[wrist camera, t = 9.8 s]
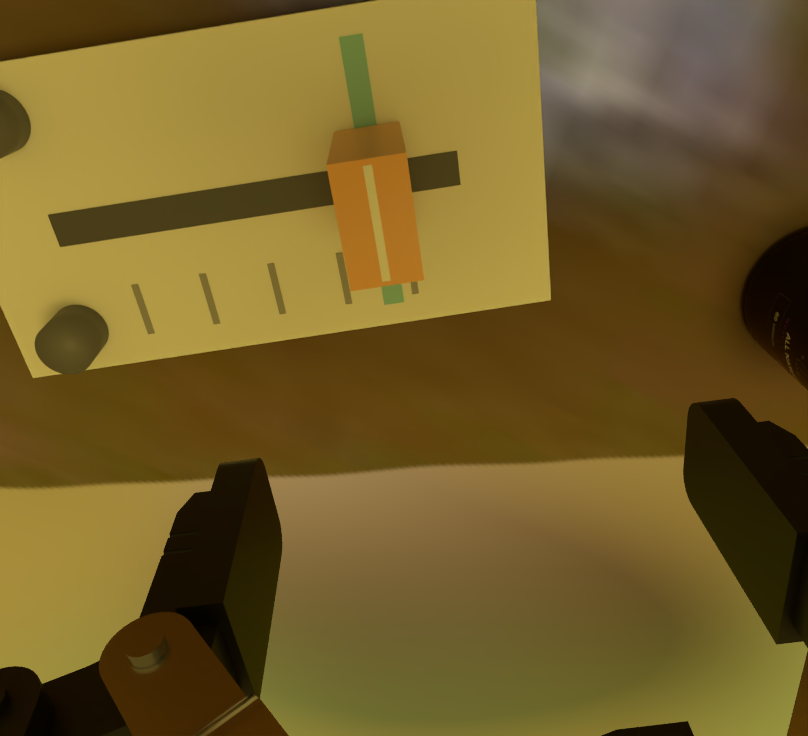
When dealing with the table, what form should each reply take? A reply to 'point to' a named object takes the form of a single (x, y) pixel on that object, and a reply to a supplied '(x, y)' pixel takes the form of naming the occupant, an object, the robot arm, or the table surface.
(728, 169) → the table surface
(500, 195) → the console
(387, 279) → the fader cap
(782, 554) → the robot arm
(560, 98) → the table surface
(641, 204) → the table surface
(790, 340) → the supplement bottle
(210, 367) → the table surface
